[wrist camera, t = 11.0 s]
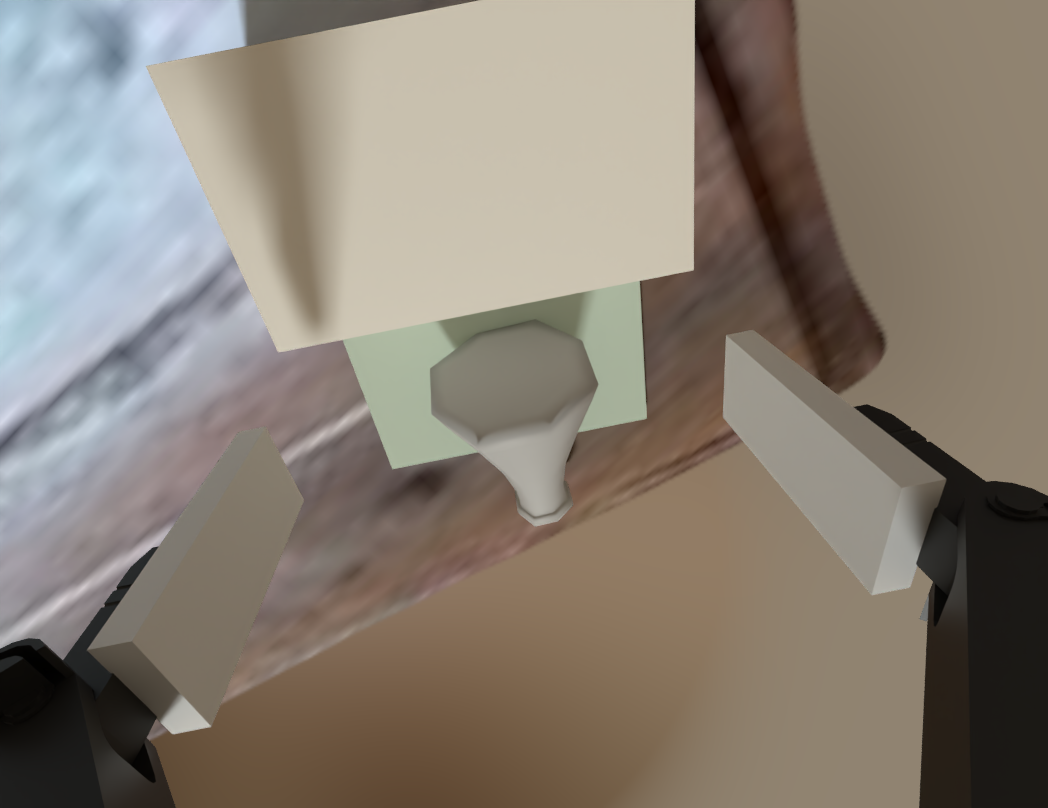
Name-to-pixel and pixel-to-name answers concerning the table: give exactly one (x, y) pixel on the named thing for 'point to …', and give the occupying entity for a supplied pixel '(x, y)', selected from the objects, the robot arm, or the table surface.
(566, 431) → the flask
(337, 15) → the table surface
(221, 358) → the table surface
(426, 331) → the mat
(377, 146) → the block
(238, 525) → the robot arm
